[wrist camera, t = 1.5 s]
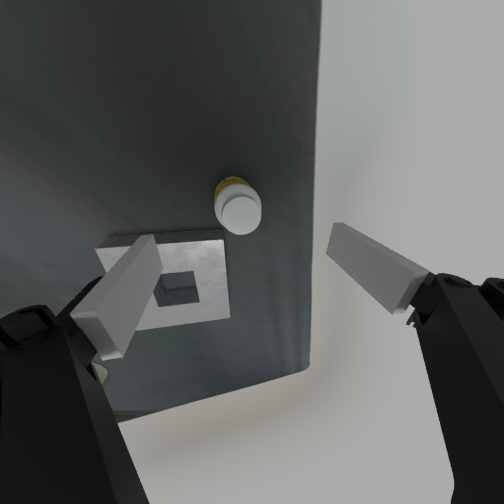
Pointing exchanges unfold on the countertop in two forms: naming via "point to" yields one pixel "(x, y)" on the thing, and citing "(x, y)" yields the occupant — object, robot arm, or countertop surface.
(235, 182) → the supplement bottle
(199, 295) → the block with square hole
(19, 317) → the robot arm
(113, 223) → the countertop surface
